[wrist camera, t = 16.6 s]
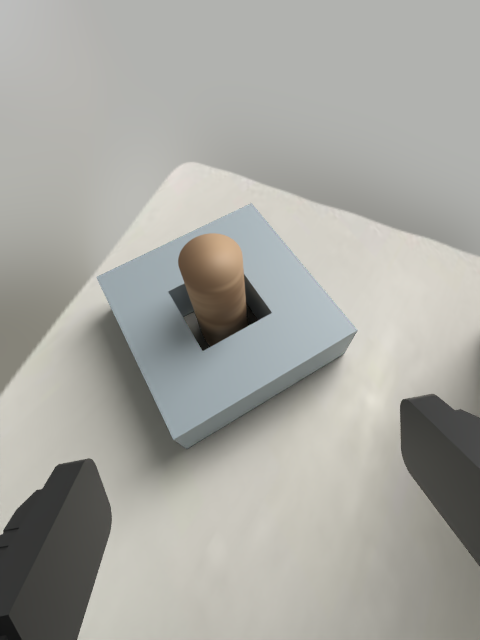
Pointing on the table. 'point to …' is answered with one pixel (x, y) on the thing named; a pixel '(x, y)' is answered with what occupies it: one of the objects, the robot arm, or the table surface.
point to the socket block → (236, 350)
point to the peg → (215, 285)
